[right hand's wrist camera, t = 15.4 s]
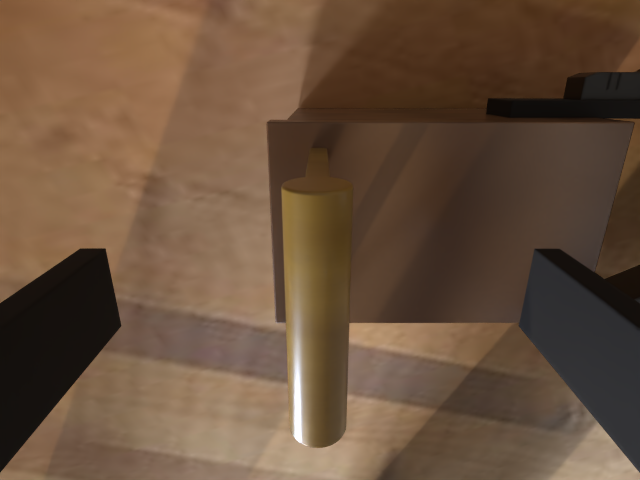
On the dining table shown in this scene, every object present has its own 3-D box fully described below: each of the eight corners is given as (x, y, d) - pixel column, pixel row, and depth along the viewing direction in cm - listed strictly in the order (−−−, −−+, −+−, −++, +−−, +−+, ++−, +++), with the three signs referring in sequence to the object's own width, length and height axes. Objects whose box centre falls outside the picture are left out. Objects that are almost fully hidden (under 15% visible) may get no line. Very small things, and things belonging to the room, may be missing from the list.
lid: (277, 311, 20) (248, 470, 12) (269, 119, 17) (220, 153, 9) (568, 311, 20) (743, 470, 12) (617, 119, 17) (905, 153, 9)
